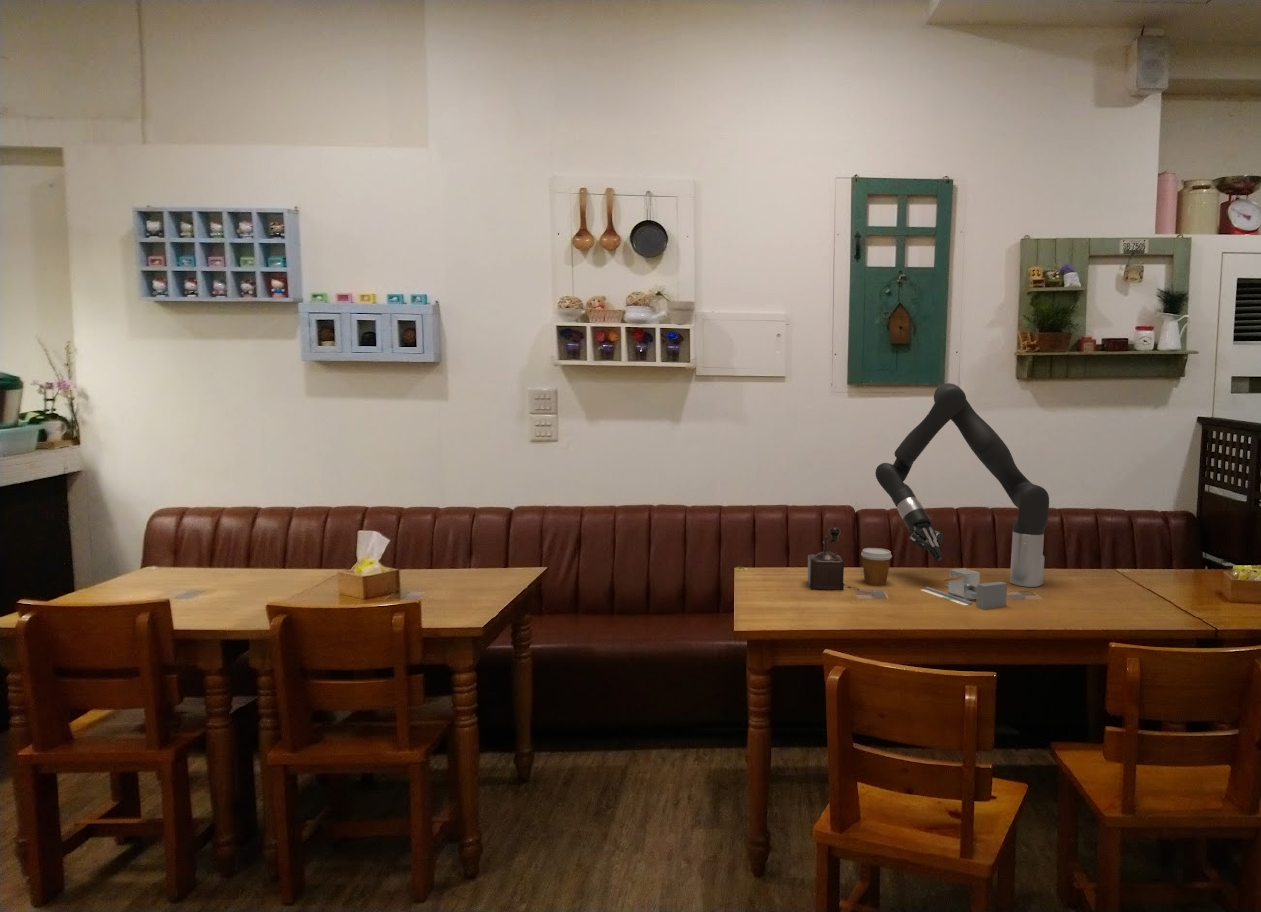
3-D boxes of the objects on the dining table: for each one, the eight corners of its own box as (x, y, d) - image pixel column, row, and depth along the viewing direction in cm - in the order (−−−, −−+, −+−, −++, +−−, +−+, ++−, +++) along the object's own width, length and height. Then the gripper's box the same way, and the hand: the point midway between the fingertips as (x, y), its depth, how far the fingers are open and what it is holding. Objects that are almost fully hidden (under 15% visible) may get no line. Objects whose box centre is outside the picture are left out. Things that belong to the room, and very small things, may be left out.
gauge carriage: (963, 593, 246) (964, 568, 245) (991, 603, 236) (993, 576, 235) (935, 597, 242) (936, 571, 241) (963, 606, 232) (964, 579, 231)
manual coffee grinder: (845, 591, 253) (848, 535, 252) (810, 590, 255) (812, 534, 253) (838, 579, 269) (840, 526, 267) (804, 577, 270) (806, 525, 268)
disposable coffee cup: (892, 592, 253) (893, 554, 252) (861, 590, 255) (862, 553, 253) (888, 584, 262) (890, 548, 261) (858, 582, 264) (860, 546, 263)
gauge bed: (950, 589, 256) (952, 564, 255) (1012, 610, 234) (1014, 582, 233) (916, 593, 251) (917, 568, 250) (976, 615, 229) (977, 587, 228)
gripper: (903, 508, 256) (930, 554, 246) (935, 506, 261) (962, 550, 251) (891, 522, 261) (917, 567, 251) (922, 519, 266) (949, 563, 256)
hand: (939, 558), depth 251 cm, fingers closed
